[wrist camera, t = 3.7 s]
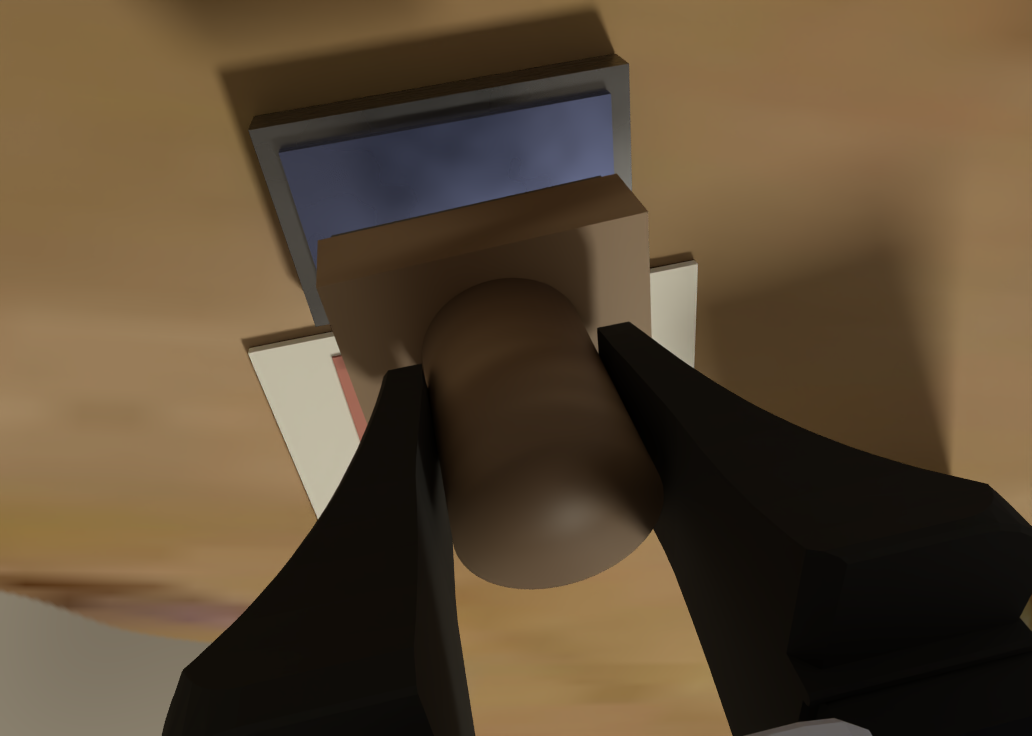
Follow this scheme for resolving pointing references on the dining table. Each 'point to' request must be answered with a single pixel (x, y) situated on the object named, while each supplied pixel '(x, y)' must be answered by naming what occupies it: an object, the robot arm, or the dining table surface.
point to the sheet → (335, 407)
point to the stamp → (512, 367)
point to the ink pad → (439, 150)
